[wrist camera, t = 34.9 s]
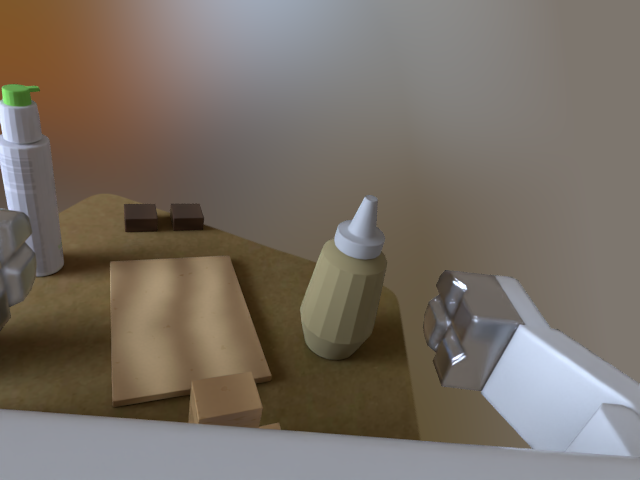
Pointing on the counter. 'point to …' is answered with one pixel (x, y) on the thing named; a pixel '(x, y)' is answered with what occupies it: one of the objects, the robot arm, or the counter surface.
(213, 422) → the brush
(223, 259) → the board
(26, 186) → the bottle
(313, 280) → the squeeze bottle
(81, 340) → the counter surface
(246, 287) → the counter surface
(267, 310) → the counter surface
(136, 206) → the chip
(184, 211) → the dark brown square block
